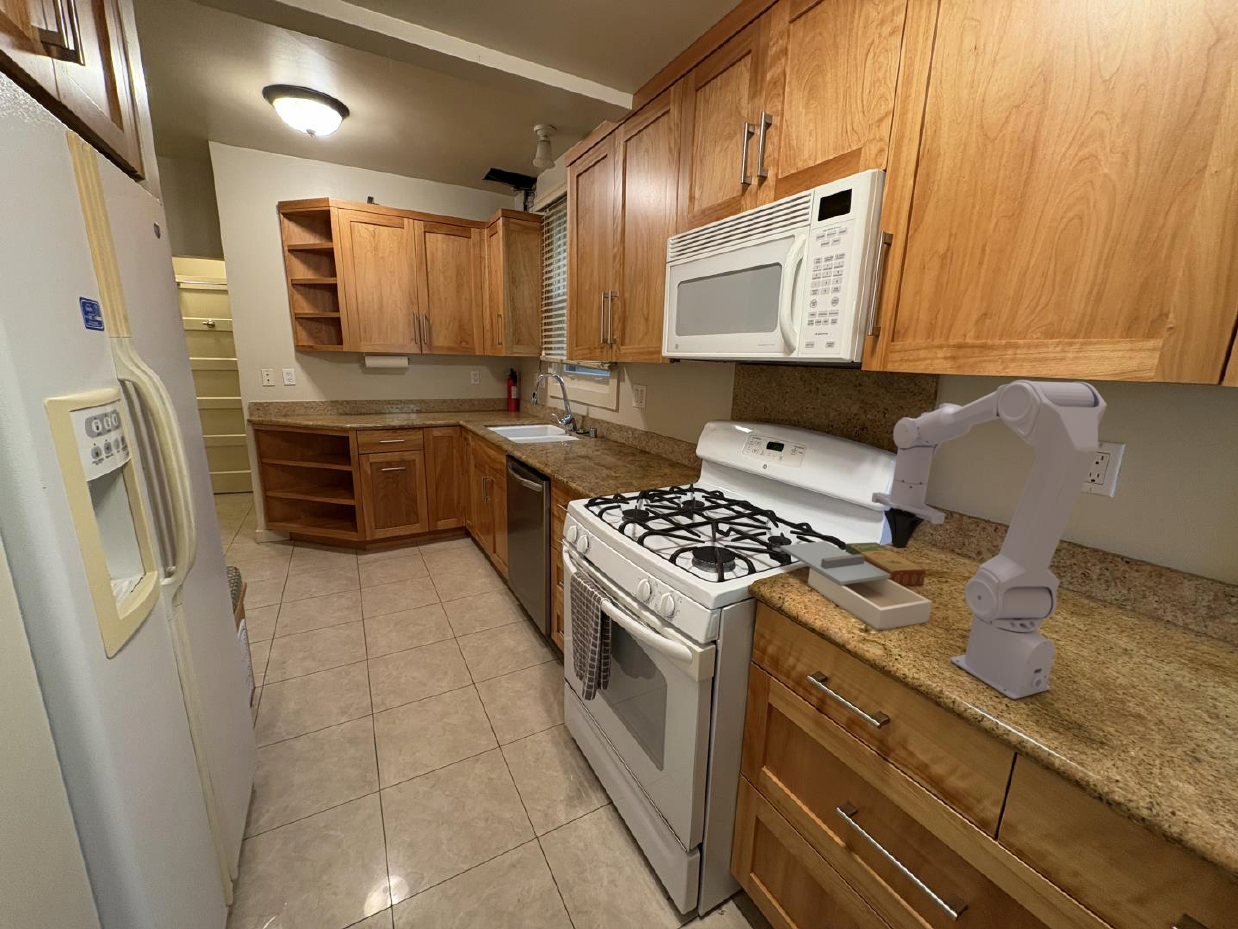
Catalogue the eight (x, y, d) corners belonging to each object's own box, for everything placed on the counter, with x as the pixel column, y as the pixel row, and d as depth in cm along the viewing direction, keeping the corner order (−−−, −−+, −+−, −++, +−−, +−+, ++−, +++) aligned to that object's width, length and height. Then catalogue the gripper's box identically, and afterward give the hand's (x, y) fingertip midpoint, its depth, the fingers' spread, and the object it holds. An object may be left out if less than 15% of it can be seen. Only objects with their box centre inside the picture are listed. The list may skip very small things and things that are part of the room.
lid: (890, 577, 96) (892, 566, 96) (840, 585, 92) (842, 573, 92) (824, 543, 113) (825, 534, 113) (779, 548, 109) (781, 538, 109)
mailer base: (928, 621, 88) (932, 601, 87) (877, 631, 84) (881, 610, 84) (853, 579, 105) (855, 561, 104) (807, 585, 101) (809, 567, 100)
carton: (888, 589, 102) (891, 570, 101) (843, 558, 117) (845, 541, 116) (923, 587, 103) (927, 568, 102) (874, 557, 118) (876, 540, 117)
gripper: (864, 472, 98) (855, 535, 101) (929, 491, 85) (916, 563, 88) (890, 471, 101) (881, 532, 104) (958, 489, 87) (944, 559, 90)
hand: (899, 546), depth 96 cm, fingers closed
